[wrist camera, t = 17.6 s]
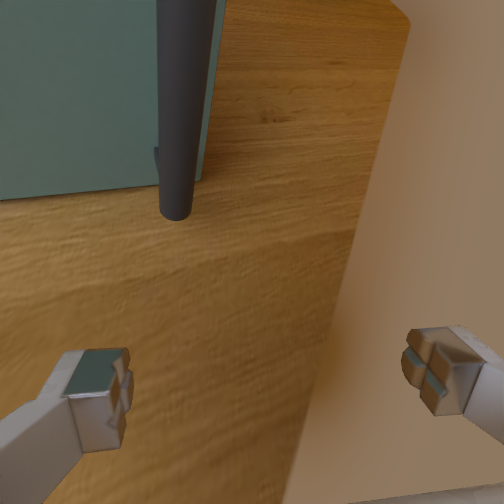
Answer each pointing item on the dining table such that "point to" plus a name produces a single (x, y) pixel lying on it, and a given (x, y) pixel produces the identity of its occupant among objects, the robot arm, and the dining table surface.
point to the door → (106, 96)
